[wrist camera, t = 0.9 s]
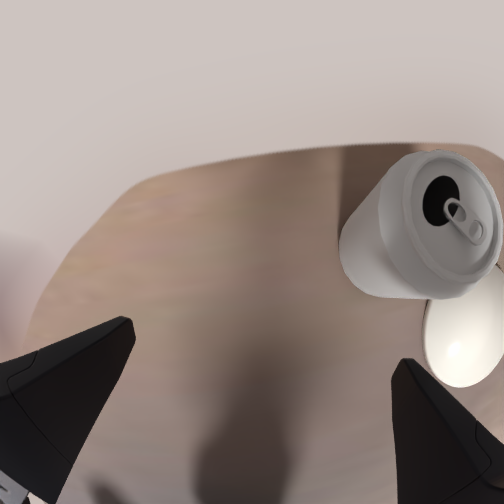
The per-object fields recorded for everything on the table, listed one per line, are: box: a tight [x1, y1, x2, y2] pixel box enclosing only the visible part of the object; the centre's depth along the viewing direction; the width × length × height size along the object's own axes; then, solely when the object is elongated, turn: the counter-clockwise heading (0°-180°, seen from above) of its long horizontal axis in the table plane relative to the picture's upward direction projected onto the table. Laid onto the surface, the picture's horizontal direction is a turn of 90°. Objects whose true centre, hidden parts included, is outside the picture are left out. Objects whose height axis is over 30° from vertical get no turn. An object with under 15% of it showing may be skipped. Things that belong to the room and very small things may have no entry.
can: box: [339, 149, 503, 300], centre depth 15 cm, size 8×8×12 cm
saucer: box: [422, 265, 504, 387], centre depth 18 cm, size 12×12×1 cm
